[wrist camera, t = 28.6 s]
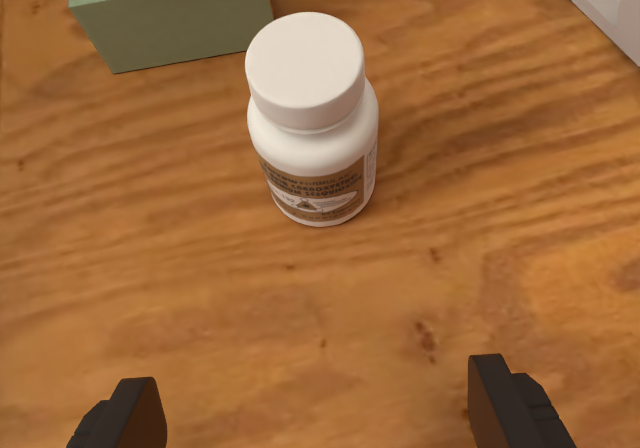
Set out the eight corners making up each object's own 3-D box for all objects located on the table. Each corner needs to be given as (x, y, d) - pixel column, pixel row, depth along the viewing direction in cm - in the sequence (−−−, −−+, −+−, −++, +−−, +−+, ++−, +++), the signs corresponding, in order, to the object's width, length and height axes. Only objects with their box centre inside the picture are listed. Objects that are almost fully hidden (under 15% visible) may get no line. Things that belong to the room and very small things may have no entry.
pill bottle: (262, 224, 22) (213, 117, 15) (279, 132, 23) (243, -6, 16) (370, 235, 21) (374, 128, 14) (379, 140, 23) (387, 0, 16)
